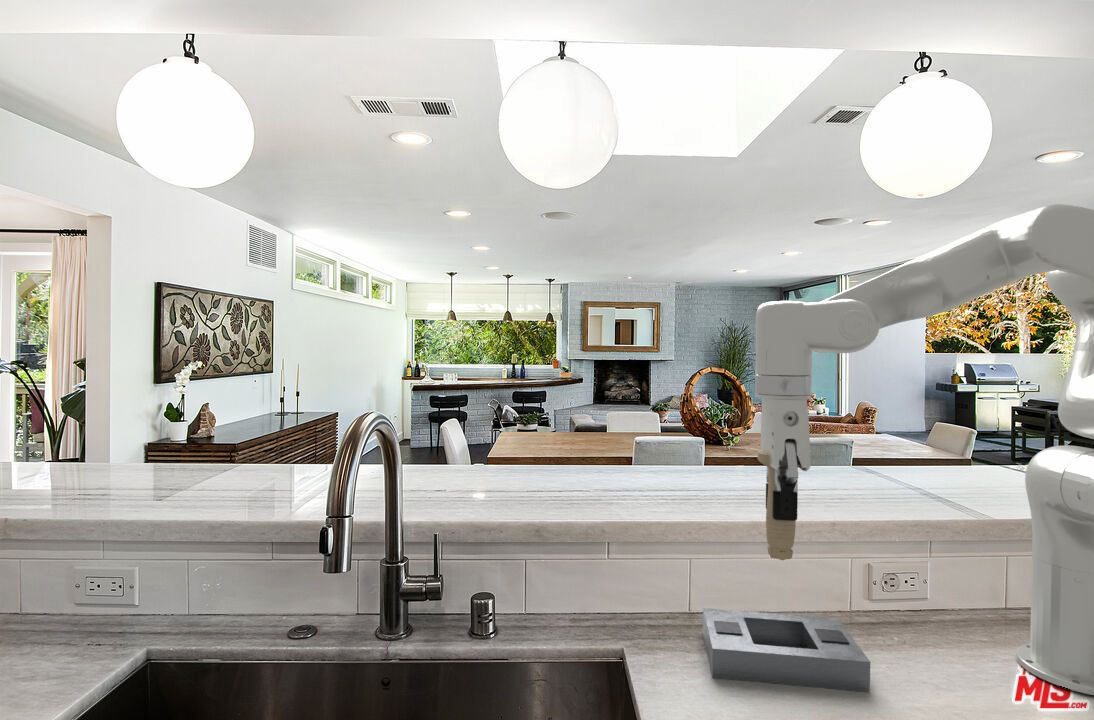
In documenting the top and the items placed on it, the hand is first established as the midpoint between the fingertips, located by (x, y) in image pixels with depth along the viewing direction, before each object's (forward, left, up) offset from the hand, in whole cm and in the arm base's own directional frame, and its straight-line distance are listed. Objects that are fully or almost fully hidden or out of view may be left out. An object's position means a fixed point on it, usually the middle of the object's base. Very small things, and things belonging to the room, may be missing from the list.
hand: (780, 513), depth 86 cm
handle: (0, 0, -6) cm, 6 cm away
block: (0, 0, -21) cm, 21 cm away
